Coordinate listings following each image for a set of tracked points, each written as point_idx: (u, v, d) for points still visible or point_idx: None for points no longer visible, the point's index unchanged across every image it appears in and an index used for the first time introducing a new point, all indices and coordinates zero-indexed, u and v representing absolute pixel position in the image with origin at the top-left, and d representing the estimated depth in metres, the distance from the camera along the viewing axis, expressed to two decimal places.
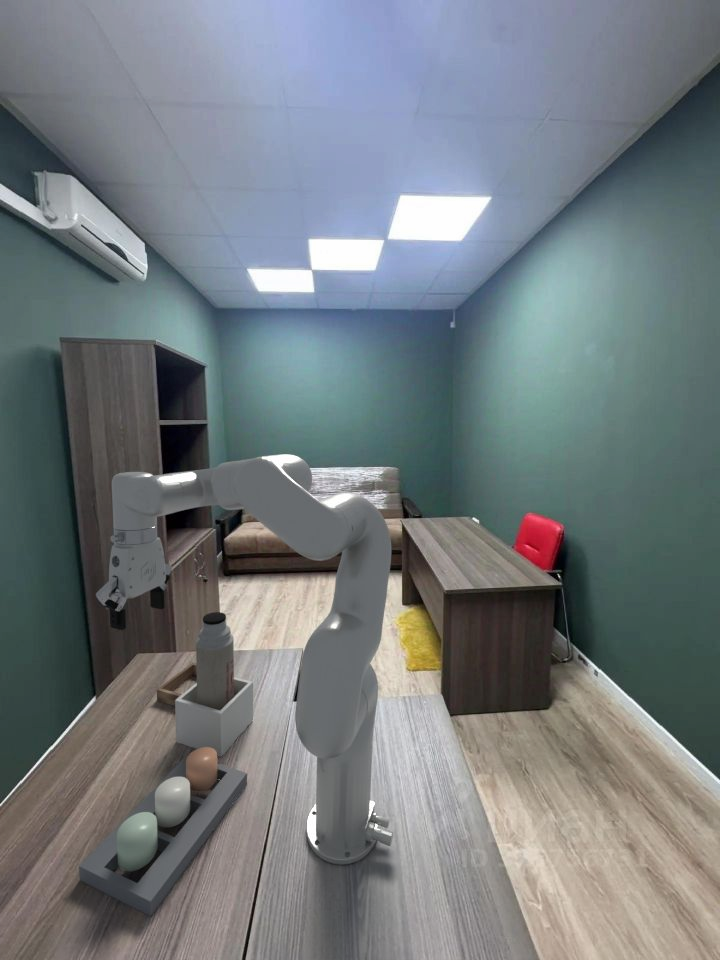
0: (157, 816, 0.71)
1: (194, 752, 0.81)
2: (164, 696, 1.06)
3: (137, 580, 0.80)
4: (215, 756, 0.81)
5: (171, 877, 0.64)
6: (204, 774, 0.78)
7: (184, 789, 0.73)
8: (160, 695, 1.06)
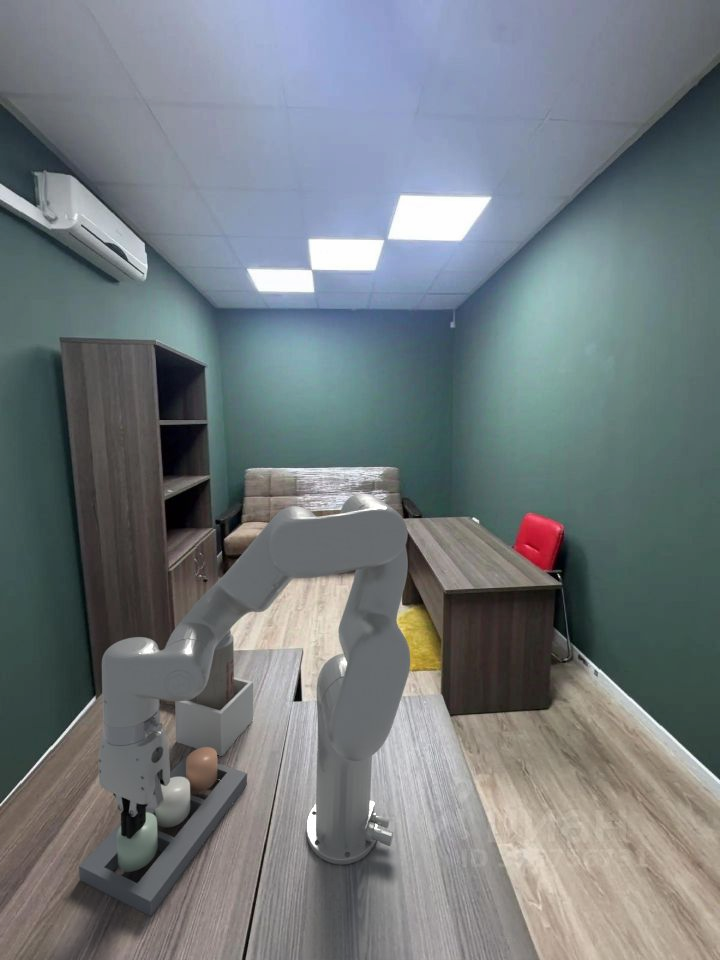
0: (157, 816, 0.71)
1: (194, 752, 0.81)
2: None
3: None
4: (215, 756, 0.81)
5: (171, 877, 0.64)
6: (204, 774, 0.78)
7: (184, 789, 0.73)
8: None
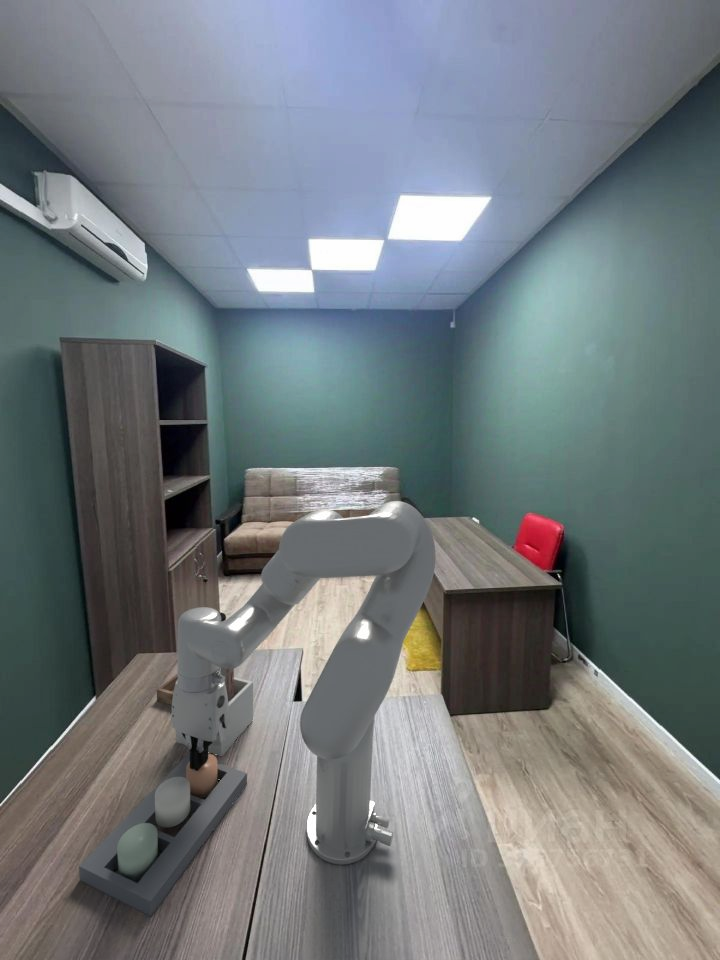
0: (157, 816, 0.71)
1: None
2: (164, 696, 1.06)
3: None
4: (215, 763, 0.81)
5: (171, 877, 0.64)
6: (204, 781, 0.78)
7: (184, 789, 0.73)
8: (160, 695, 1.06)
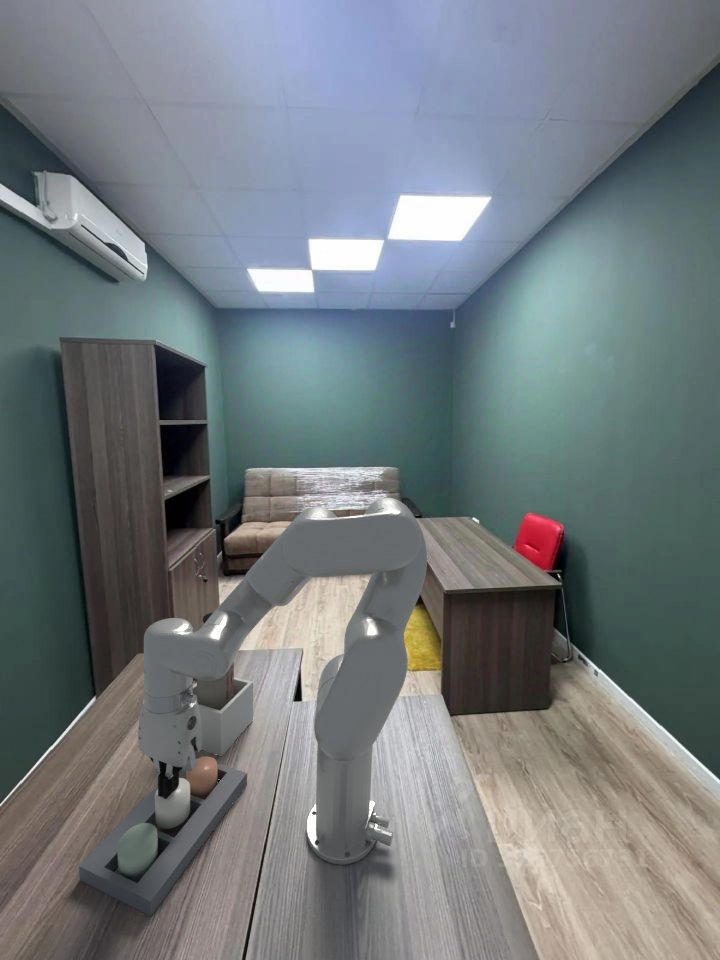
0: (157, 817, 0.71)
1: None
2: None
3: None
4: (215, 766, 0.81)
5: (171, 877, 0.64)
6: (204, 784, 0.78)
7: (184, 791, 0.73)
8: None
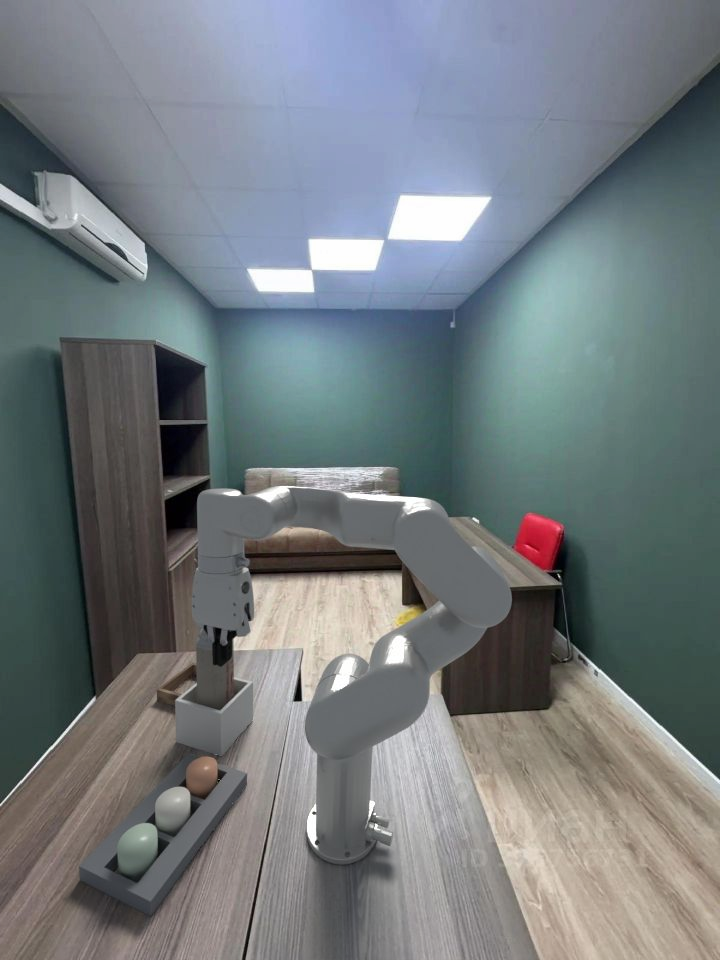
0: (157, 827, 0.71)
1: (194, 762, 0.82)
2: (164, 696, 1.06)
3: None
4: (215, 766, 0.81)
5: (171, 877, 0.64)
6: (204, 784, 0.78)
7: (184, 800, 0.73)
8: (160, 695, 1.06)
